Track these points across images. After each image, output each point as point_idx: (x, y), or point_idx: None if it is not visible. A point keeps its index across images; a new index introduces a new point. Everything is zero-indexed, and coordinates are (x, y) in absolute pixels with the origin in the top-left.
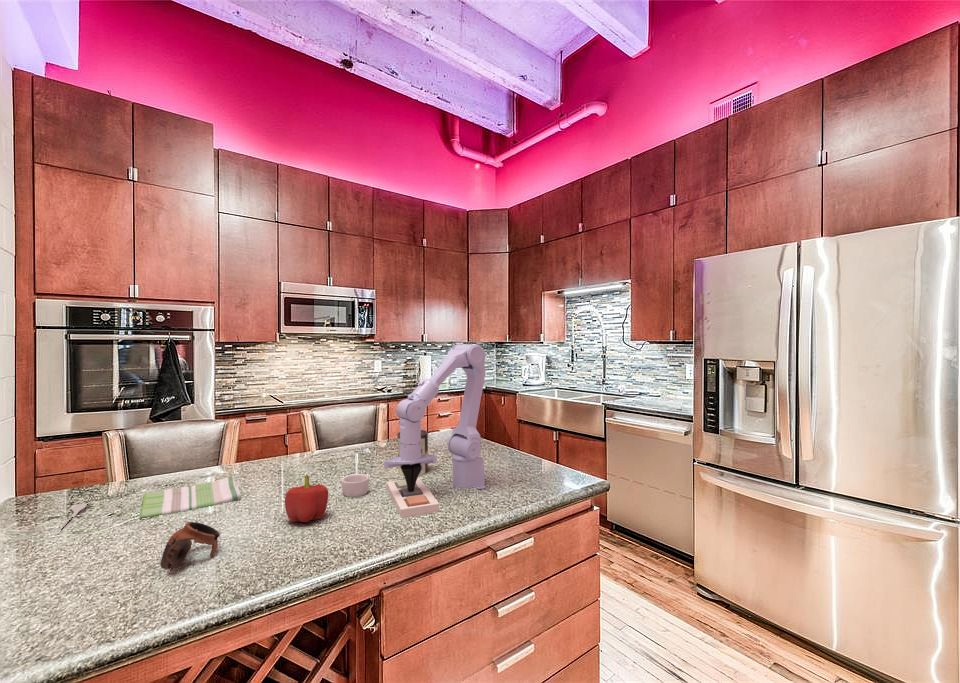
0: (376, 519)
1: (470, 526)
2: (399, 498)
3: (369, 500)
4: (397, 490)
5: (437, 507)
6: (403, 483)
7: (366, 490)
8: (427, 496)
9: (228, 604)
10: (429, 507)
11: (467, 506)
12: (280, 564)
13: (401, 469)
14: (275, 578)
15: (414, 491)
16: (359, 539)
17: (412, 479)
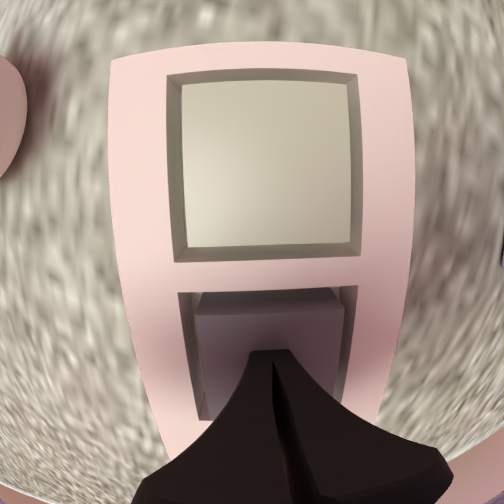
0: (101, 420)
1: None
2: (180, 427)
3: (41, 204)
4: (171, 301)
5: None
6: (239, 188)
7: (5, 154)
8: None
9: (9, 484)
10: None
11: (454, 403)
12: (3, 458)
13: (165, 466)
14: (19, 480)
15: None
16: (88, 477)
17: (285, 472)
